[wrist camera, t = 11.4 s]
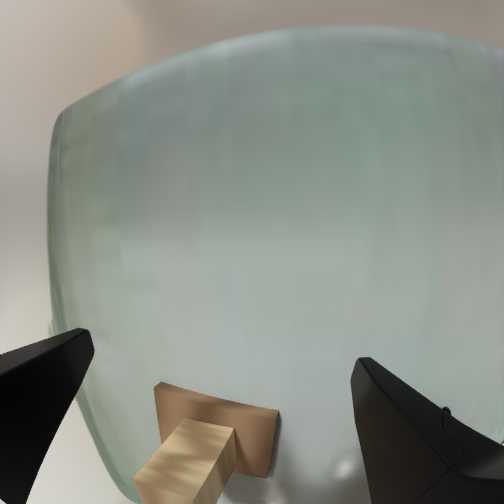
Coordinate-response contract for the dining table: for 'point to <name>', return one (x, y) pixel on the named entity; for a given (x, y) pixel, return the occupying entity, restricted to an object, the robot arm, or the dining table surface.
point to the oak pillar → (189, 465)
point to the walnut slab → (222, 424)
